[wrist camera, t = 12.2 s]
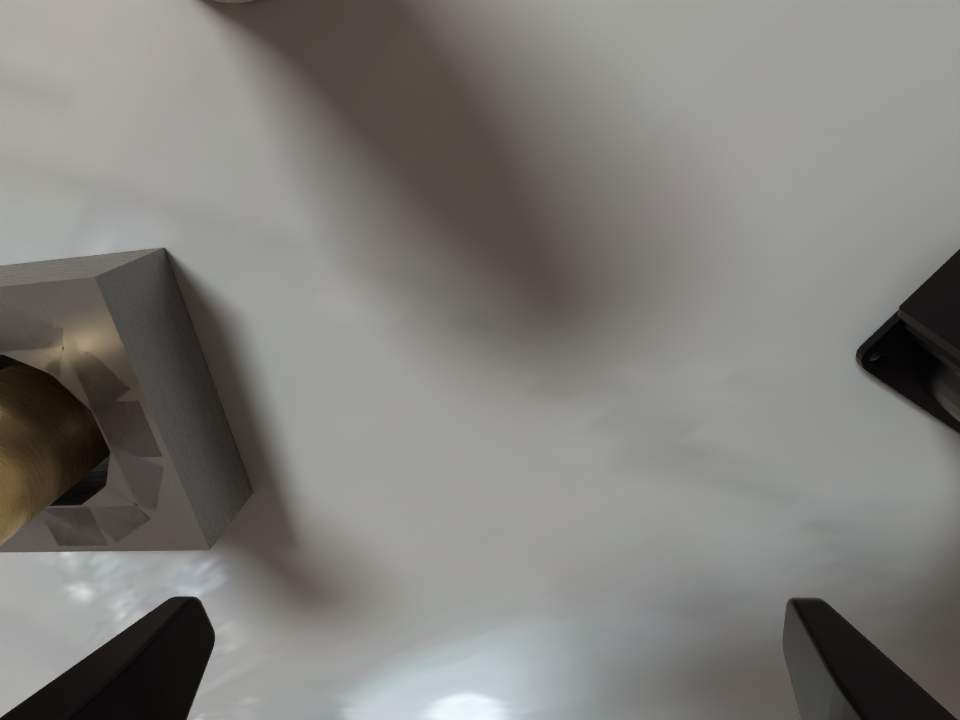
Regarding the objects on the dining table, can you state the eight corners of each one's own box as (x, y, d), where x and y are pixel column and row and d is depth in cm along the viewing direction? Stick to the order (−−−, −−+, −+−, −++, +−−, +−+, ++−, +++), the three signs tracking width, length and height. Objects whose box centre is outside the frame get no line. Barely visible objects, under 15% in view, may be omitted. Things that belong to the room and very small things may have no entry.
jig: (163, 247, 21) (94, 276, 18) (252, 493, 26) (209, 550, 23) (-84, 275, 23) (-186, 306, 20) (39, 499, 28) (-28, 552, 25)
